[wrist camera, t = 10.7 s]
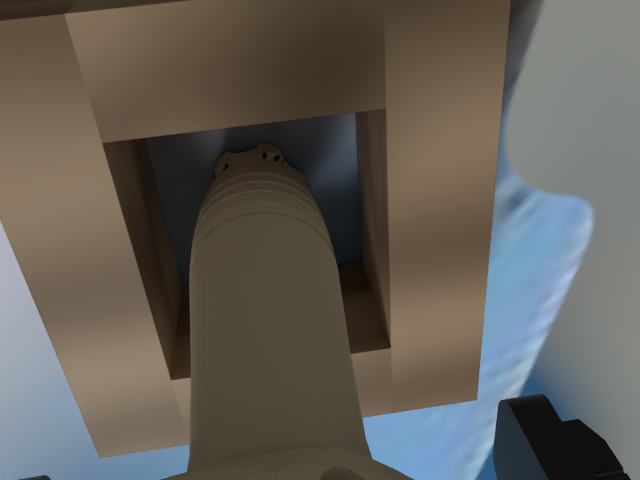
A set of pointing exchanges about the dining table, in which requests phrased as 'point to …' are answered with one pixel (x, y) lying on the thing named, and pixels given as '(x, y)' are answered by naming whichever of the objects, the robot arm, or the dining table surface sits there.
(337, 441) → the handle
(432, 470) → the dining table surface
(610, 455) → the robot arm
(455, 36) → the walnut sleeve
